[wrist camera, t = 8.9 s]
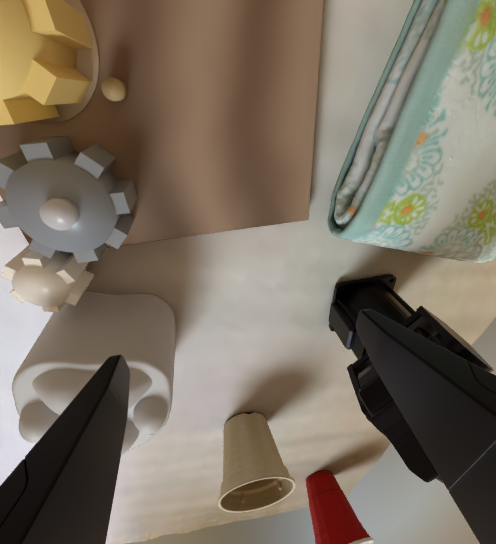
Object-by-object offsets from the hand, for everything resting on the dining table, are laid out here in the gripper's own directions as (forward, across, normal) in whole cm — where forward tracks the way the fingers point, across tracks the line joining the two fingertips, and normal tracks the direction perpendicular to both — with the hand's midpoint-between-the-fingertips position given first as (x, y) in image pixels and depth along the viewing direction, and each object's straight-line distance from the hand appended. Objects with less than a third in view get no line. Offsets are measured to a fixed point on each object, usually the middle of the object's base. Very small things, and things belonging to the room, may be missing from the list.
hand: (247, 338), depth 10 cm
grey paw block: (+13, +11, +12) cm, 21 cm away
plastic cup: (+13, -14, +60) cm, 63 cm away
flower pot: (+13, 0, +32) cm, 35 cm away
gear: (+12, +8, -3) cm, 15 cm away
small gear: (+12, +12, +2) cm, 17 cm away
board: (+13, +3, -7) cm, 15 cm away
